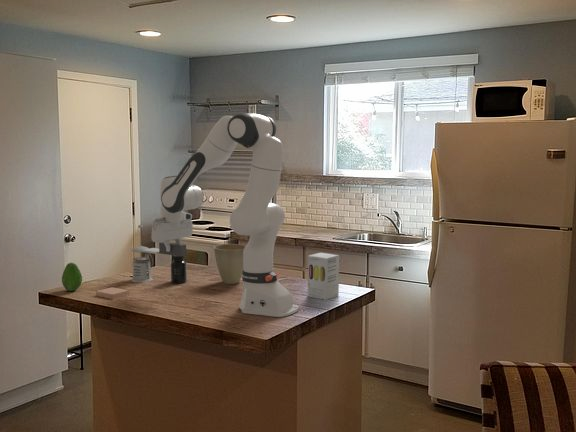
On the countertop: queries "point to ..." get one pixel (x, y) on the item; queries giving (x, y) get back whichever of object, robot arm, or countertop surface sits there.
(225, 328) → the countertop surface
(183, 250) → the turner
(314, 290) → the supplement box
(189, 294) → the countertop surface
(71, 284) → the avocado
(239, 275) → the plant pot
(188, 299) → the countertop surface
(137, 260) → the french press
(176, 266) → the supplement bottle
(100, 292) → the glazed tile
